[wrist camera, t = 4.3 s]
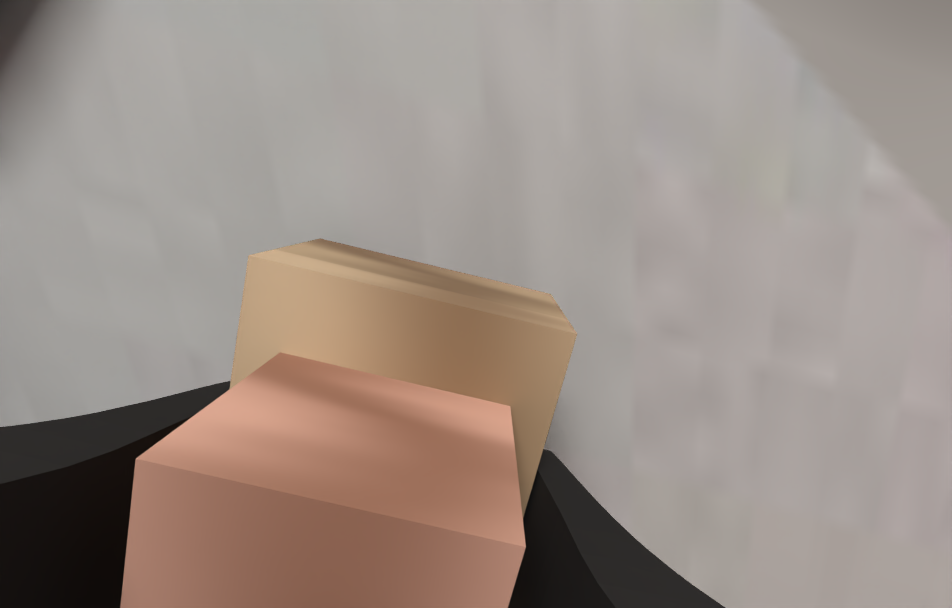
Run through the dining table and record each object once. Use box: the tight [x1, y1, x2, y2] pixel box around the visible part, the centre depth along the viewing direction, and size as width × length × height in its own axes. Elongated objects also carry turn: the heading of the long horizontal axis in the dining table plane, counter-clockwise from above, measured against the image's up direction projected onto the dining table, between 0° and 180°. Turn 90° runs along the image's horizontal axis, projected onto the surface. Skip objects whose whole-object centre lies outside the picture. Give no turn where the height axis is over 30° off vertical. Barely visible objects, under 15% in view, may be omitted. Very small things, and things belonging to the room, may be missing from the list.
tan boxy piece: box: [230, 239, 577, 517], centre depth 11 cm, size 6×8×4 cm
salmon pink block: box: [120, 352, 526, 608], centre depth 7 cm, size 4×5×4 cm
